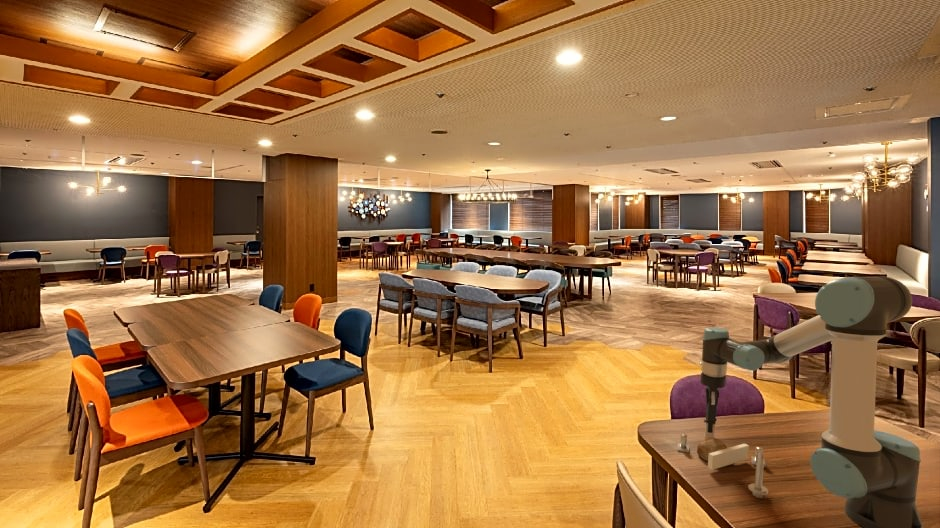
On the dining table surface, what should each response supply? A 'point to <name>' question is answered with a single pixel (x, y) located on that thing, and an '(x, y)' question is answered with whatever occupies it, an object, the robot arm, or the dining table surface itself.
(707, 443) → the bread roll
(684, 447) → the grey small pieces
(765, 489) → the screw
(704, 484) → the dining table surface
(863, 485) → the robot arm
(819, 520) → the dining table surface
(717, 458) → the gate
